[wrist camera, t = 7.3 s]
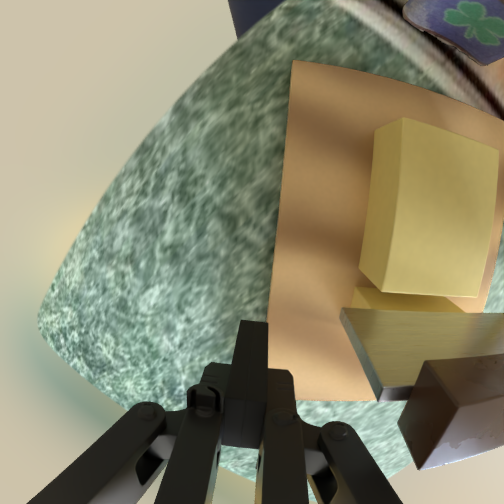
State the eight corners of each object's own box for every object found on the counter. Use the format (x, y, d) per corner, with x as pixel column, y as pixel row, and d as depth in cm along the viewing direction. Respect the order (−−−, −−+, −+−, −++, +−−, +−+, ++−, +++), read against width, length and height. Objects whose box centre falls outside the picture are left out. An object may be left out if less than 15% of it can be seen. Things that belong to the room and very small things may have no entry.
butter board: (291, 67, 18) (292, 59, 16) (497, 125, 17) (508, 123, 16) (257, 385, 23) (256, 397, 22) (444, 385, 22) (450, 393, 21)
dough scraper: (344, 286, 13) (425, 410, 5) (518, 297, 13) (607, 356, 5) (334, 336, 13) (385, 477, 5) (506, 335, 13) (584, 403, 5)
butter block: (374, 129, 17) (402, 116, 12) (460, 152, 17) (499, 149, 12) (357, 268, 19) (380, 292, 14) (443, 276, 19) (477, 298, 14)
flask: (399, 21, 16) (463, -50, 5) (401, -2, 15) (458, -72, 5) (488, 72, 16) (570, 42, 6) (488, 48, 15) (562, 13, 5)
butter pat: (354, 285, 19) (375, 313, 15) (439, 292, 19) (471, 316, 15) (345, 326, 20) (362, 361, 15) (429, 329, 20) (457, 358, 15)
